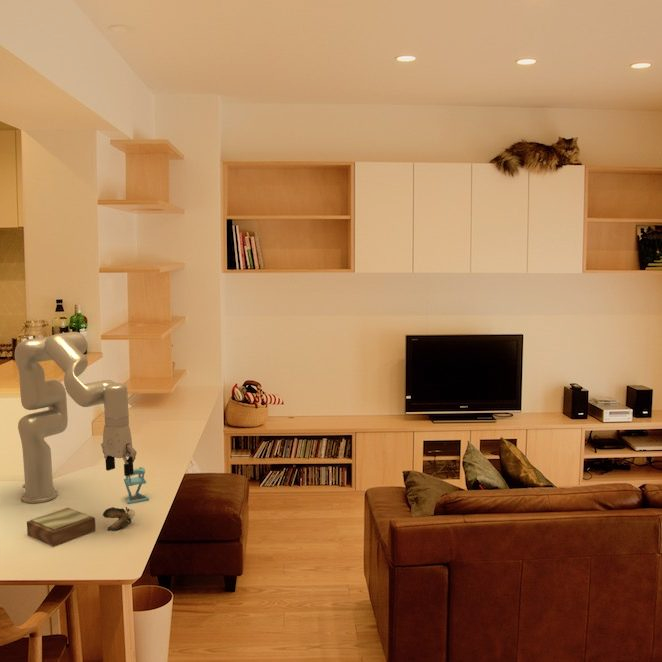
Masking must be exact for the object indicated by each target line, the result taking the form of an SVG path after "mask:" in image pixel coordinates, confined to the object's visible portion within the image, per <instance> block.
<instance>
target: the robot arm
mask: <svg viewBox="0 0 662 662" xmlns="http://www.w3.org/2000/svg"><path fill="white" fill-rule="evenodd" d="M87 349H88V340H87V339H86V337H85V335H84V334H82V333H81V332H78V331H71V332H70V331H68V332H62V333H55V334H53V335H50V336H41V337H34V338H33V337H32V338H29V339H25V340H22V341H20V342H19V343H18V344H17V345H16V346H15V349H14V360H15V364H16V367H17V370H18V377H19V378H18V379H19V391H20V392H19V393H20V402H21V406H22V407H23V409H24V410H26V411H36V410H41V409H45V408H48V409H46V410H43V411H42V410H41V411H38V412H37V411H36V412H33V413H29V414H25V415H23V416H22V417H21V418H20V419H19V421H18V422H17V423H18V424H17V430H18V434H19V437H20V440H21V448H22V449H21V450H22V459H23V460H22V462H23V476H24V484H23V485H22V488H23V489H24V493H23V494H22V495H21V497H20V499H21V501H22V502H24V503H29V504H39V503H45V502H49V501H51V500H53V499H56V498H57V497H58V496H59V492H58V490H57V489H54V481H53V480H54V478H53V462H52V449H51V447H50V445H49V444H48V442H46V441H45V438H47V437H51V436H54V435H58V434H59V435H60V434H61V433H64V432H65V431H66V429H67V427H68V421H69V420H68V419H69V418H68V404H67V403H68V400H67V394H68V396H69V397H70V398H71V399H72V400H73V401H74V402H75V403H76V404H77V405H78V406H80V407H83V408H89V407H94V406H99V405H103V410H104V411H103V412H104V425H103V432H102V433H103V434H102V443H101V444H100V446H101V449H102V454H103V455H104V456H103V457H104V459H105V470H106V471H112V470H115V469H116V459H122V460H123V462H124V464H123V471H124V472H123V473H124V476H125V477H126V476H128V475H131V474H133V473H134V472H133V469H134V463H135V460H136V456H137V454H138V453H137V450H136V449H135V448H134V447H133V441H132V439H133V438H132V433H131V428H130V417H129V399H128V398H129V397H128V387H127V385H126V384H124V383H119V382H115V381H113V380H110V379H103V380H99V381H93V382H87V383H83V382H82V381H80V379H79V378H78V377H79V376H81V375H82V374H83V373H84V372H85V370H86V369H87V367H88V362H89V361H88V358H87V356H85V355H84V354H85V353H86V352H87ZM46 361H54V363H55V364H56V365H57V366H58V367H59V368H60V370H61V371H62V372H63V373H64V376H63V383H62V382H61V381H59V380H56V379H49V380H46V378H45V376H46V375H45V370H44V367H43V366H42V365H41V362H46ZM63 384H64V385H63Z"/></svg>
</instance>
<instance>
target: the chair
mask: <svg viewBox="0 0 662 662" xmlns="http://www.w3.org/2000/svg"><path fill="white" fill-rule="evenodd" d="M145 469H146V468H145V467H143V466H141V467H139V468H133V472H134V473H133V474H131V475H128V476H125V479H123V481H124V485H125V487H126V490H127V494H128V497H127V500H126V501H127V502H126V504H127V505H133V504H138V503H144V502H148V501H150V497H149V496H146V495H143V494H141V493H139V492H140V490H141V487H142V485H145V484H147V480H146V479H145V473H146V470H145ZM135 475H138V476H136V477H132V476H135ZM136 485H137V488H136V491H135V497H139V499H138V498H137V499H133V500H132V492H131V489H130V487H133V486H136Z"/></svg>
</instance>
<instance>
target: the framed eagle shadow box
mask: <svg viewBox="0 0 662 662" xmlns="http://www.w3.org/2000/svg"><path fill="white" fill-rule="evenodd" d="M94 532H96V517H94V516H92V515H88V514H86V513H84V512H81V511H78V510H75V509H73V508H70V507H66V508H63V509H60V510H56V511H53V512H50V513H48V514H45V515H42V516H39V517H35V518H33V519H31V520H30V519H29V520H28V521H27V520H26V533H27V536H29V537H31V538H34V539H36V540H38V541H41V542H43V543H45V544H47V545H49V546H52V547H57V546H60V545H62V544H64V543H67V542H70V541H72V540H75V539H78V538H80V537H83V536H86V535H88V534H91V533H94Z"/></svg>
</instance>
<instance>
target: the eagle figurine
mask: <svg viewBox="0 0 662 662" xmlns="http://www.w3.org/2000/svg"><path fill="white" fill-rule="evenodd" d="M135 516H136V512H135V510H134V509H130V508H128V507H127V506H125V509H124V508H118V507H108V508H106V509H105V510H104V511H103V513H102V517H104V518H105V519H117V520H116V521H114V523H112V524H111V525H109V526H108V527H107V529H106V530H107V531H112V532H113V531H116V530H119V529H120V528H122V526H124V525H126V524H127V523H128V522H129V523H132V520H133V519H134V517H135Z"/></svg>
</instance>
